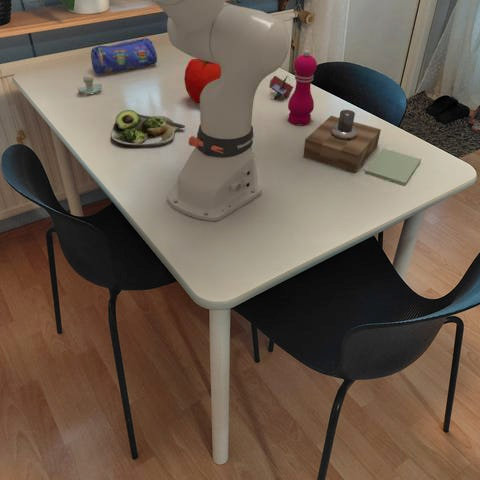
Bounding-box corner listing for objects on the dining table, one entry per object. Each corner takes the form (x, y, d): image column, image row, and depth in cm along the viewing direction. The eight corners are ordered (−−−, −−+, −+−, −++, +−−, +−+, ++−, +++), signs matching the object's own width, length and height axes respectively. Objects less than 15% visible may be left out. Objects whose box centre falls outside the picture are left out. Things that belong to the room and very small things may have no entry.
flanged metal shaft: (347, 160, 127) (355, 121, 120) (324, 153, 129) (330, 114, 123) (356, 150, 131) (364, 111, 124) (334, 143, 134) (340, 105, 127)
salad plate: (186, 118, 143) (185, 103, 140) (183, 149, 130) (182, 133, 127) (118, 118, 142) (116, 103, 139) (108, 149, 129) (105, 133, 126)
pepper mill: (310, 127, 140) (319, 55, 128) (285, 124, 141) (291, 53, 129) (313, 116, 146) (322, 46, 133) (288, 113, 147) (295, 43, 134)
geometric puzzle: (300, 89, 155) (288, 66, 152) (293, 97, 150) (280, 74, 148) (282, 99, 160) (269, 76, 157) (274, 107, 155) (261, 84, 152)
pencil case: (150, 59, 178) (147, 31, 171) (161, 67, 172) (159, 38, 166) (90, 71, 168) (85, 42, 162) (99, 80, 162) (95, 50, 156)
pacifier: (75, 92, 155) (81, 98, 151) (71, 72, 151) (77, 78, 147) (98, 87, 158) (104, 93, 154) (94, 67, 154) (101, 73, 150)
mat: (404, 185, 119) (405, 182, 118) (364, 173, 122) (365, 170, 122) (420, 162, 127) (421, 159, 127) (382, 150, 131) (383, 148, 131)
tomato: (195, 90, 158) (193, 47, 149) (232, 97, 155) (233, 53, 146) (178, 106, 148) (175, 61, 140) (217, 114, 145) (217, 68, 137)
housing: (354, 173, 122) (358, 155, 119) (303, 156, 128) (305, 139, 125) (377, 146, 133) (381, 129, 130) (328, 132, 138) (331, 115, 135)
